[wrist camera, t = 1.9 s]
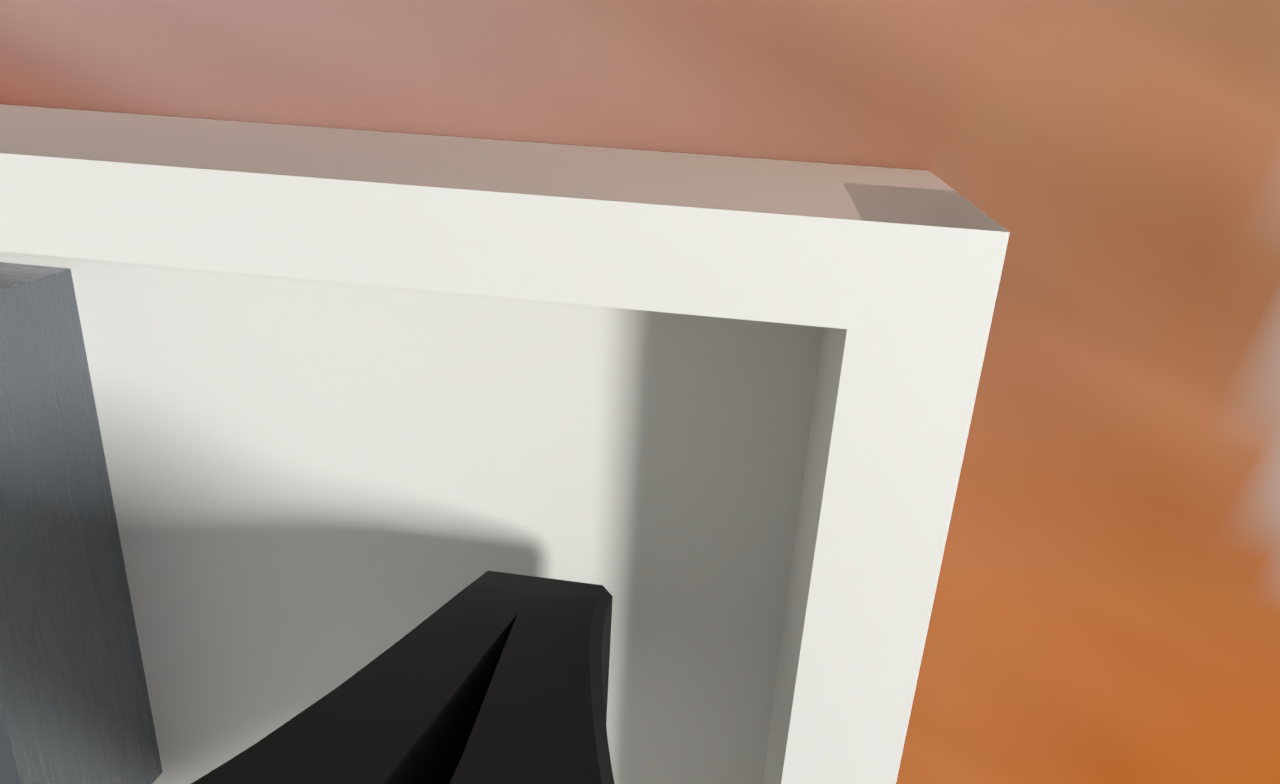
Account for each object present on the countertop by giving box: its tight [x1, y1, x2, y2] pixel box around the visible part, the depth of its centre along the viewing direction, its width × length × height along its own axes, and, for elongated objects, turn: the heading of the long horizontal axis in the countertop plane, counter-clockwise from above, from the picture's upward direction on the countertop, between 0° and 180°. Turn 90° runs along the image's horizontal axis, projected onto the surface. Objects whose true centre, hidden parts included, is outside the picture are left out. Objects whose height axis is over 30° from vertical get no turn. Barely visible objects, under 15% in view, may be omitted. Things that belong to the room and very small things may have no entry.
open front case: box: [0, 104, 1010, 784], centre depth 11 cm, size 10×17×4 cm, turn 87°
